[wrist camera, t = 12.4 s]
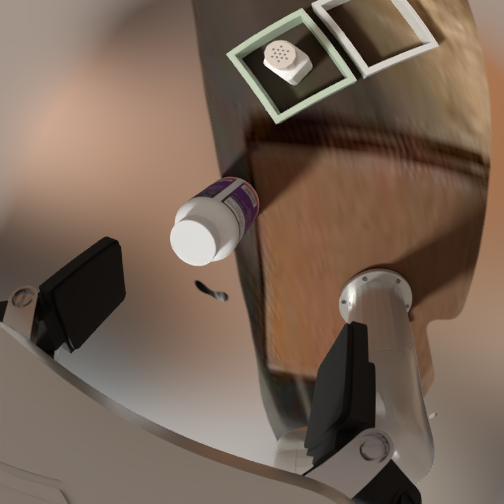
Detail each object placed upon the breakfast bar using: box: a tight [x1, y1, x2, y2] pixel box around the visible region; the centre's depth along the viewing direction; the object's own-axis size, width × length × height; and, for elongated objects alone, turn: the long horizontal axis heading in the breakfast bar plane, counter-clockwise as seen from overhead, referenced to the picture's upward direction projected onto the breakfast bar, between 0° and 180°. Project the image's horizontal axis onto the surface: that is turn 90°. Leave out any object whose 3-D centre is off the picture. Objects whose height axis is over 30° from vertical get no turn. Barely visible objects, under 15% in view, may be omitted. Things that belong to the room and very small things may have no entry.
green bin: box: [226, 9, 357, 124], centre depth 29 cm, size 12×12×3 cm
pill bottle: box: [170, 177, 259, 266], centre depth 35 cm, size 8×8×14 cm
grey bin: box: [312, 0, 439, 78], centre depth 23 cm, size 12×12×3 cm
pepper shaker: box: [264, 40, 313, 85], centre depth 26 cm, size 4×4×10 cm
